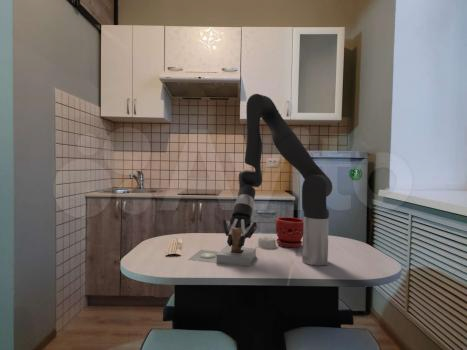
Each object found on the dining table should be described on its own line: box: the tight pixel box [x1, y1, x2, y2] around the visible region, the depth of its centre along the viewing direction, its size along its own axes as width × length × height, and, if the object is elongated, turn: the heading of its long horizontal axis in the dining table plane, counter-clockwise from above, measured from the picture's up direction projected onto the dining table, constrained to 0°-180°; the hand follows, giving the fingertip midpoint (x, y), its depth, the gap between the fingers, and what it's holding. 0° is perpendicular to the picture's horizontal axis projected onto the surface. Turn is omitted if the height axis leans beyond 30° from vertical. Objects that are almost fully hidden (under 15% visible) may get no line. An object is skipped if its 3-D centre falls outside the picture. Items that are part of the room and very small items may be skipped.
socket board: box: [187, 245, 257, 268], centre depth 111 cm, size 23×13×4 cm, turn 75°
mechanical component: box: [254, 236, 279, 250], centre depth 129 cm, size 10×4×10 cm
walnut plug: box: [231, 227, 242, 254], centre depth 109 cm, size 4×4×11 cm
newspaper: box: [165, 237, 183, 257], centre depth 126 cm, size 24×7×2 cm, turn 8°
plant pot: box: [275, 216, 303, 248], centre depth 135 cm, size 13×13×12 cm
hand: (235, 245), depth 107 cm, fingers closed on walnut plug, 3 cm apart
